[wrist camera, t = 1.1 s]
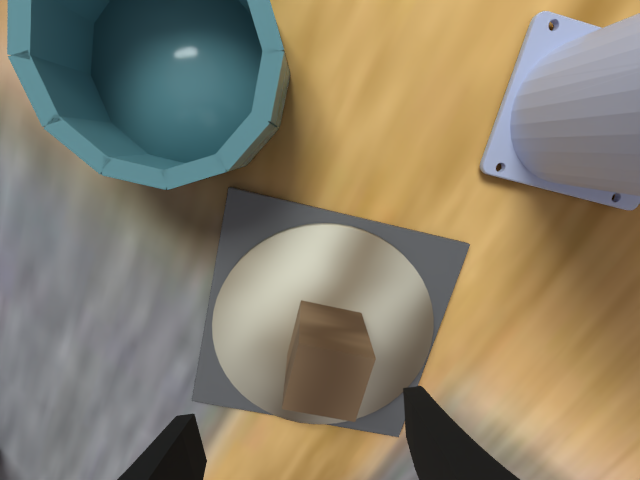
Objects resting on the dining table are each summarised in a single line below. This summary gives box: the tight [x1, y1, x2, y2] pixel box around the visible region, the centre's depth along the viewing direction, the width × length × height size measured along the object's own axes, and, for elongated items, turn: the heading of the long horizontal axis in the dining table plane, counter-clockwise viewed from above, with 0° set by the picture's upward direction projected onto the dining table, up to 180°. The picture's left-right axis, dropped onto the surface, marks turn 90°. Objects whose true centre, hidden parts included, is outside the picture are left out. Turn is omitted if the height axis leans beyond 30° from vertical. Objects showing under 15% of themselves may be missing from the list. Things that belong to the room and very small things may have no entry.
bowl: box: [7, 0, 290, 190], centre depth 15 cm, size 10×10×4 cm
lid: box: [212, 223, 434, 424], centre depth 18 cm, size 13×13×5 cm
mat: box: [192, 187, 470, 437], centre depth 21 cm, size 14×14×1 cm
